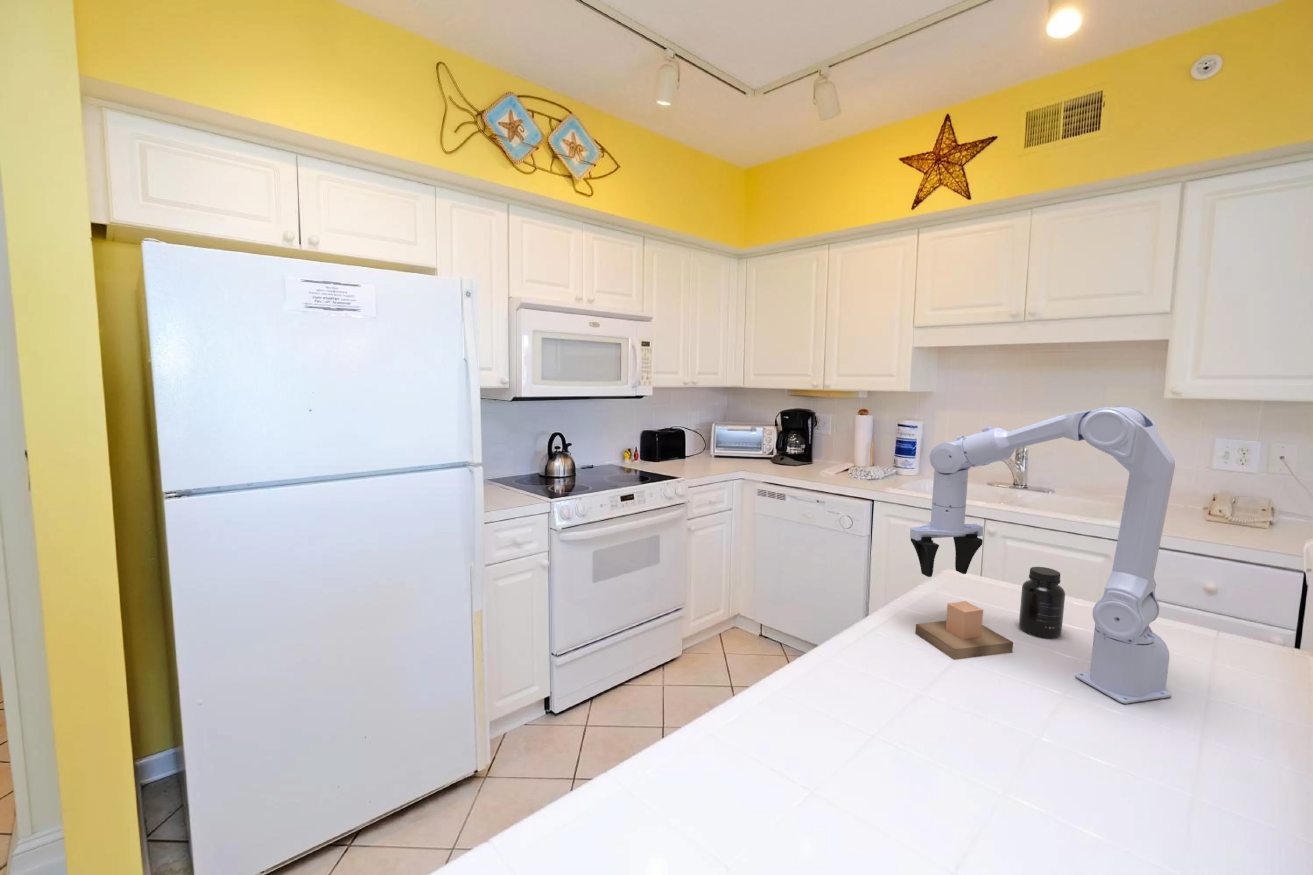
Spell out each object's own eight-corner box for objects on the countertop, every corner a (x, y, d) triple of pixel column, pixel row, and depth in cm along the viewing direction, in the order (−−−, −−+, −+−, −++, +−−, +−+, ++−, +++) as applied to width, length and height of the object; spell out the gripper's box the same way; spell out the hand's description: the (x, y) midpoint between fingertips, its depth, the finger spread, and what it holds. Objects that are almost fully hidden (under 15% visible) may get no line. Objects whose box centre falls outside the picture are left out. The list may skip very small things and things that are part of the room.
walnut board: (969, 630, 111) (970, 618, 111) (1012, 655, 101) (1013, 642, 101) (915, 636, 108) (915, 623, 108) (953, 662, 99) (954, 649, 98)
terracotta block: (963, 626, 107) (965, 600, 106) (981, 636, 103) (983, 609, 102) (945, 629, 106) (947, 603, 105) (962, 639, 102) (964, 612, 101)
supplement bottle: (1011, 622, 113) (1016, 563, 112) (1049, 624, 113) (1054, 565, 111) (1029, 638, 107) (1034, 575, 105) (1069, 640, 106) (1075, 578, 104)
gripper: (965, 498, 114) (961, 564, 116) (901, 501, 111) (897, 569, 113) (993, 506, 108) (988, 576, 109) (926, 510, 104) (921, 582, 106)
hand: (943, 573), depth 111 cm, fingers open, 7 cm apart
